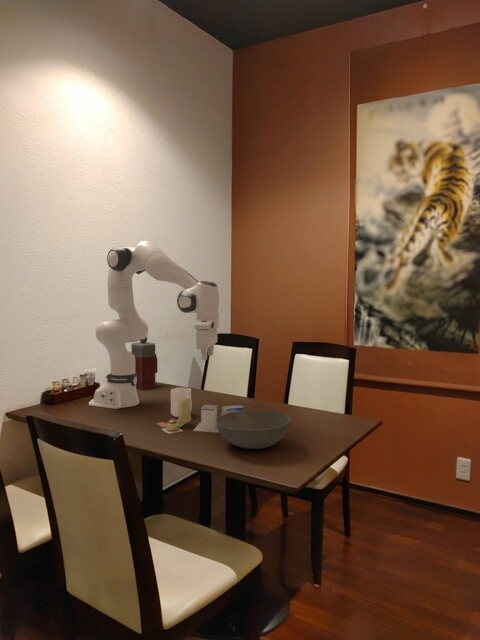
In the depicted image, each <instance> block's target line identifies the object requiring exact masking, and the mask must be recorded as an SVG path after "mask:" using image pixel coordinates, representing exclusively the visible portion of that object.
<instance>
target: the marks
mask: <svg viewBox="0 0 480 640" xmlns="http://www.w3.org/2000/svg"><path fill="white" fill-rule="evenodd" d="M185 424H186V423H184V424H182V425H179V430H177V431H167V430H166V422H164V421H162V422H157V423H156V425H158V426H159V427H160V428H161V431H163V432H165V433H167V434H169V435H170V434H175V433H181V432H184V430H183V429H181V428H182V427H183V426H185Z"/></svg>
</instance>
